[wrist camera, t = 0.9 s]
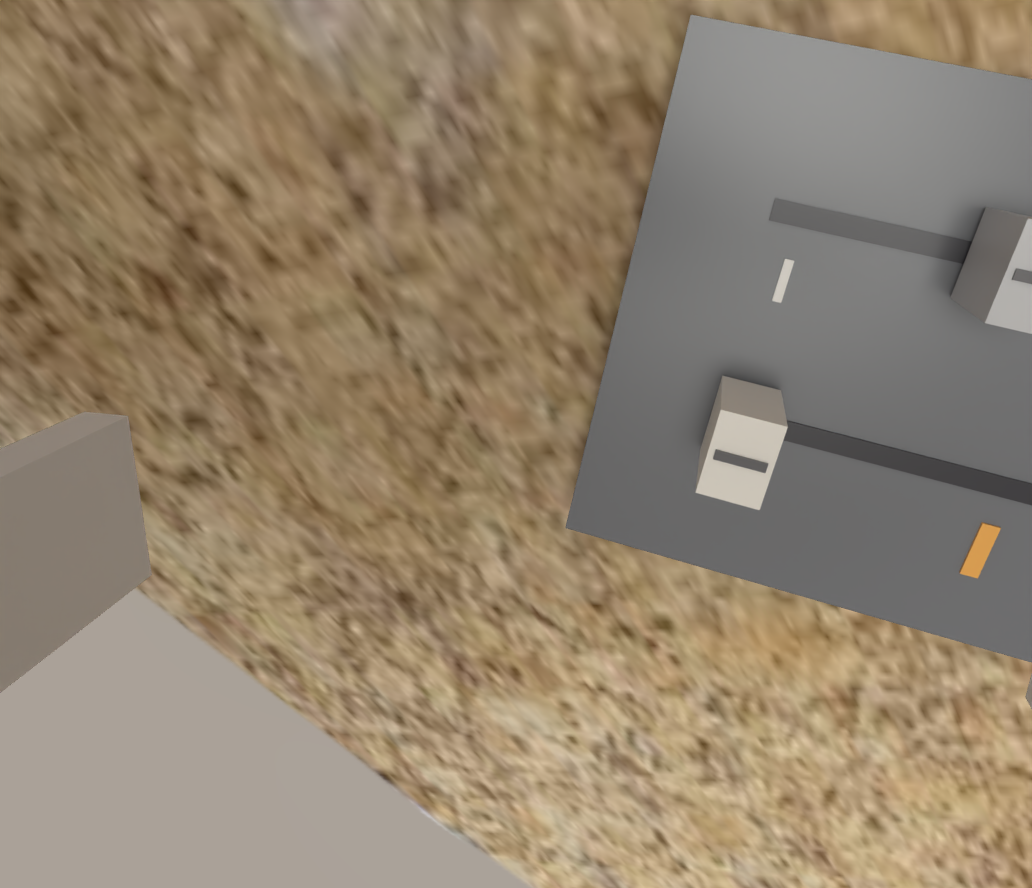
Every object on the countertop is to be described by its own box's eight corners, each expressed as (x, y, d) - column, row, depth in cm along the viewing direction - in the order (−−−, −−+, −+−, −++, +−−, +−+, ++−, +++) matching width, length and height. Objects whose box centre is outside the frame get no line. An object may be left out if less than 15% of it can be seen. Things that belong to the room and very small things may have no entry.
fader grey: (950, 297, 27) (985, 324, 23) (985, 207, 26) (1029, 218, 22) (1017, 313, 26) (1064, 341, 23) (1056, 221, 25) (1111, 236, 22)
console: (576, 502, 35) (554, 552, 31) (694, 24, 28) (687, 4, 24) (1145, 663, 32) (1208, 743, 28) (1432, 166, 25) (1574, 172, 21)
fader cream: (700, 449, 30) (695, 494, 26) (722, 375, 29) (721, 410, 25) (756, 464, 30) (759, 511, 26) (780, 390, 29) (788, 428, 25)
